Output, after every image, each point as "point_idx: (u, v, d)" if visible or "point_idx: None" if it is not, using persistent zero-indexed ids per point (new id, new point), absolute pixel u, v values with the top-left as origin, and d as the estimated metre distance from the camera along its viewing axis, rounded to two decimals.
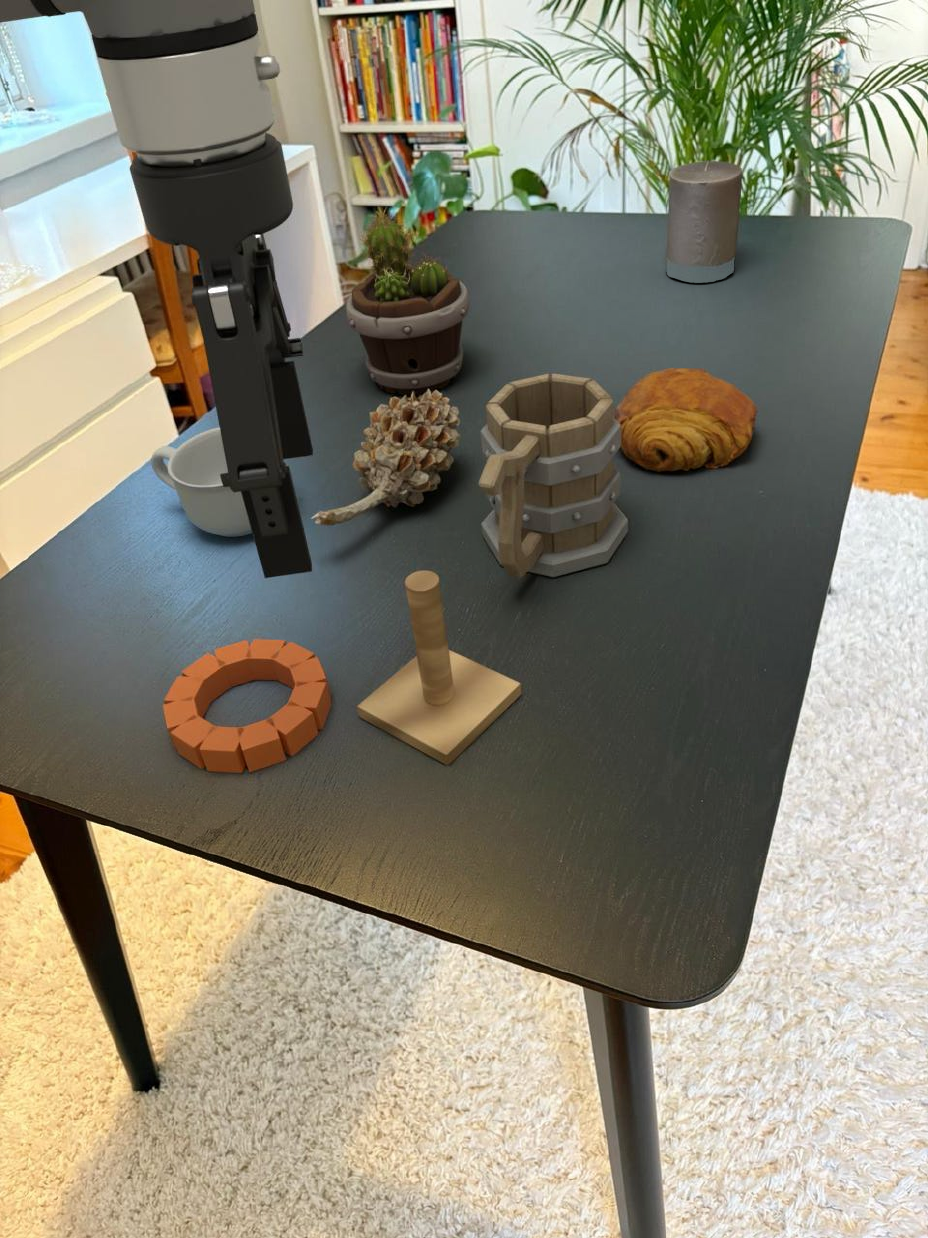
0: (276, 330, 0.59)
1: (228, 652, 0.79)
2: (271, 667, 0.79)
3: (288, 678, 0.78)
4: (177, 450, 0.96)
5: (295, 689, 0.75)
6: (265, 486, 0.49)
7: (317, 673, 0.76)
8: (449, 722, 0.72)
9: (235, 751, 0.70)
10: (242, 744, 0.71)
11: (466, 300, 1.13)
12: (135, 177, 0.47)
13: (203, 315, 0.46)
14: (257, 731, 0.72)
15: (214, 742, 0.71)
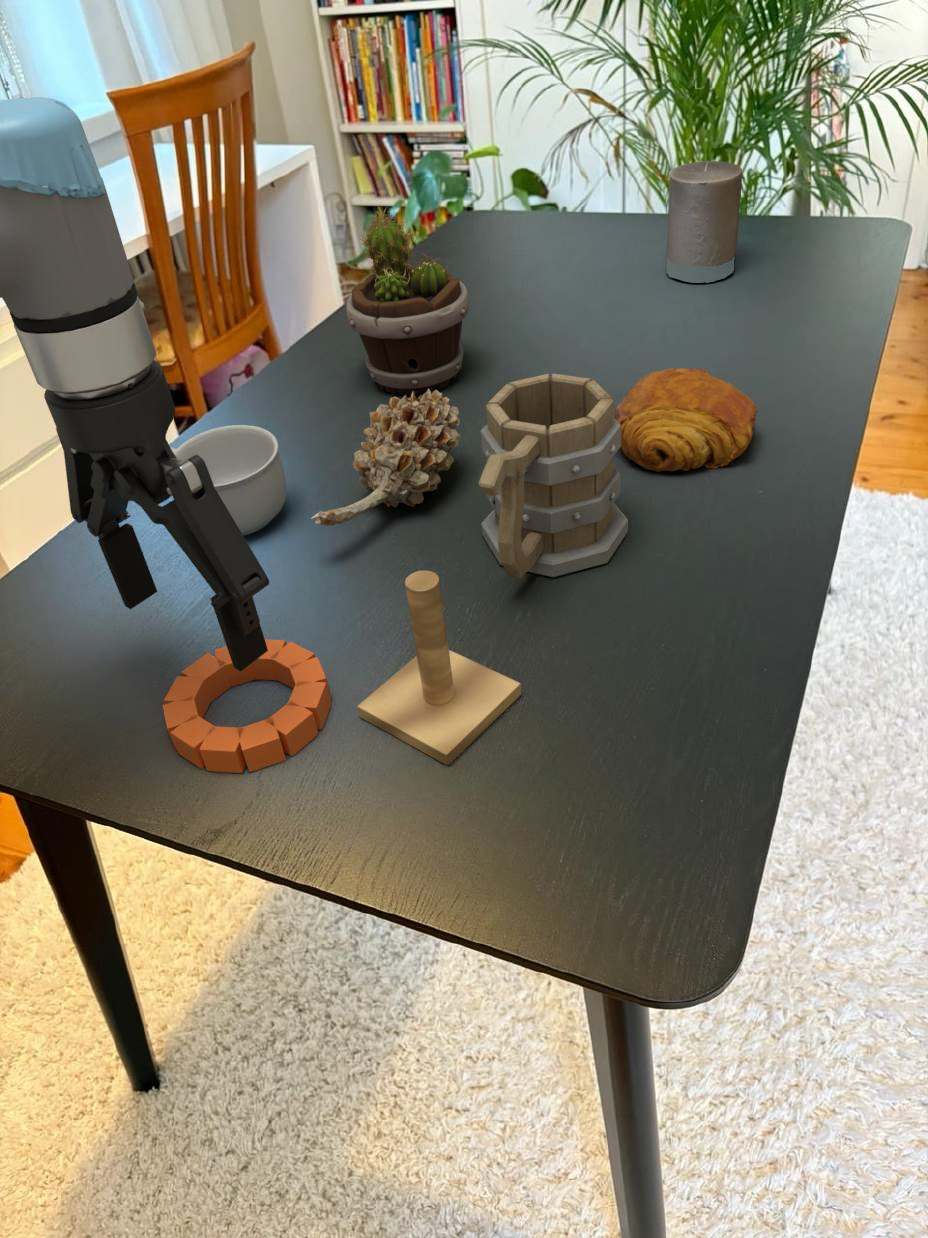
0: (126, 501, 0.73)
1: (228, 652, 0.79)
2: (271, 667, 0.79)
3: (288, 678, 0.78)
4: (177, 450, 0.96)
5: (295, 689, 0.75)
6: (260, 589, 0.66)
7: (317, 673, 0.76)
8: (449, 722, 0.72)
9: (235, 751, 0.70)
10: (242, 744, 0.71)
11: (466, 300, 1.13)
12: (77, 412, 0.60)
13: (182, 488, 0.62)
14: (257, 731, 0.72)
15: (214, 742, 0.71)
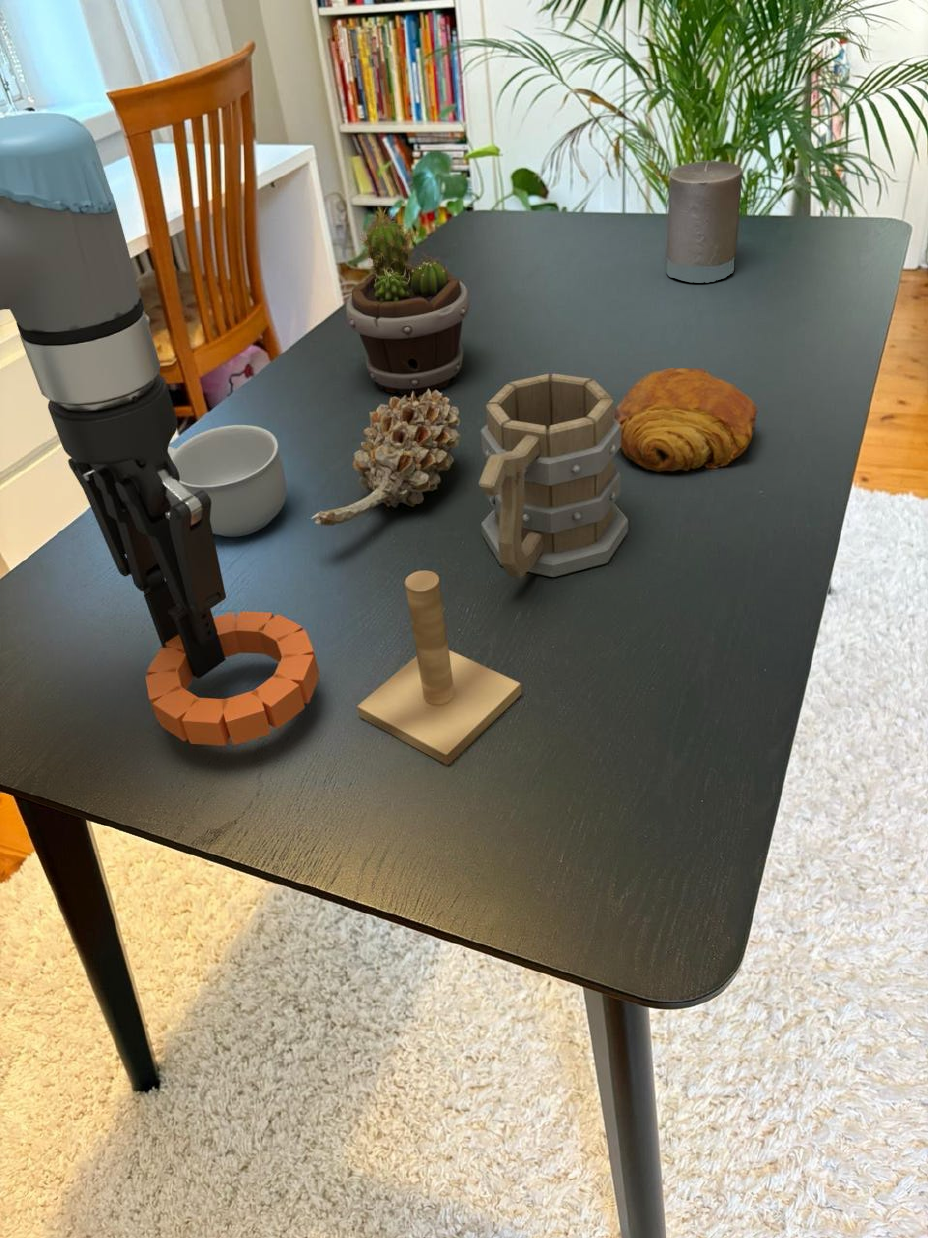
0: None
1: None
2: (258, 640, 0.77)
3: (275, 651, 0.76)
4: (177, 450, 0.96)
5: (281, 661, 0.73)
6: (217, 603, 0.70)
7: (305, 646, 0.74)
8: (449, 722, 0.72)
9: (218, 722, 0.68)
10: (226, 715, 0.69)
11: (466, 300, 1.13)
12: (81, 423, 0.60)
13: (185, 524, 0.64)
14: (242, 703, 0.70)
15: (197, 713, 0.69)
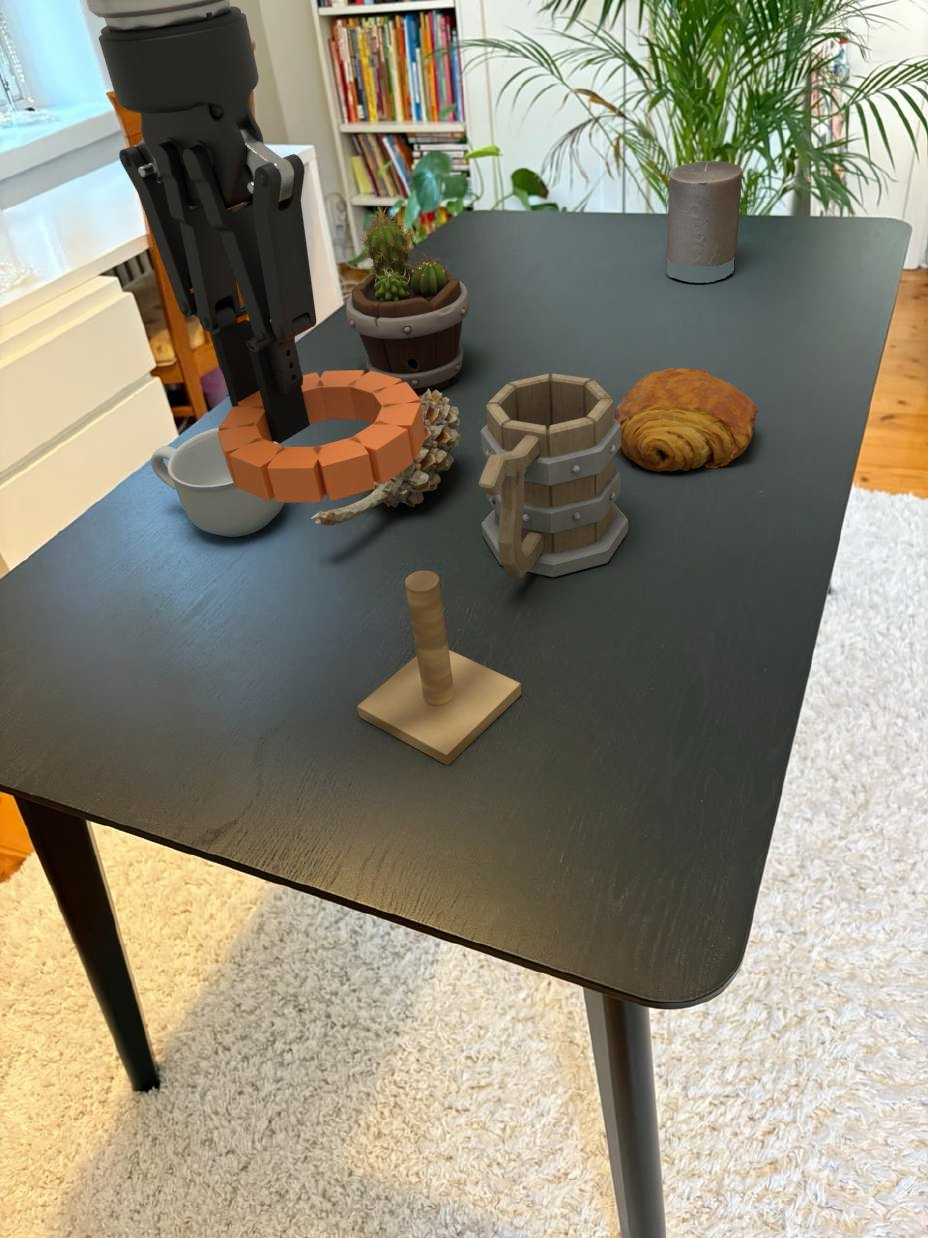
0: (228, 257, 0.59)
1: None
2: (348, 399, 0.63)
3: (370, 410, 0.63)
4: (177, 450, 0.96)
5: (382, 410, 0.60)
6: (307, 328, 0.57)
7: (408, 395, 0.61)
8: (449, 722, 0.72)
9: (313, 467, 0.55)
10: (321, 460, 0.56)
11: (466, 300, 1.13)
12: (143, 43, 0.47)
13: (273, 194, 0.51)
14: (339, 448, 0.57)
15: (286, 460, 0.56)
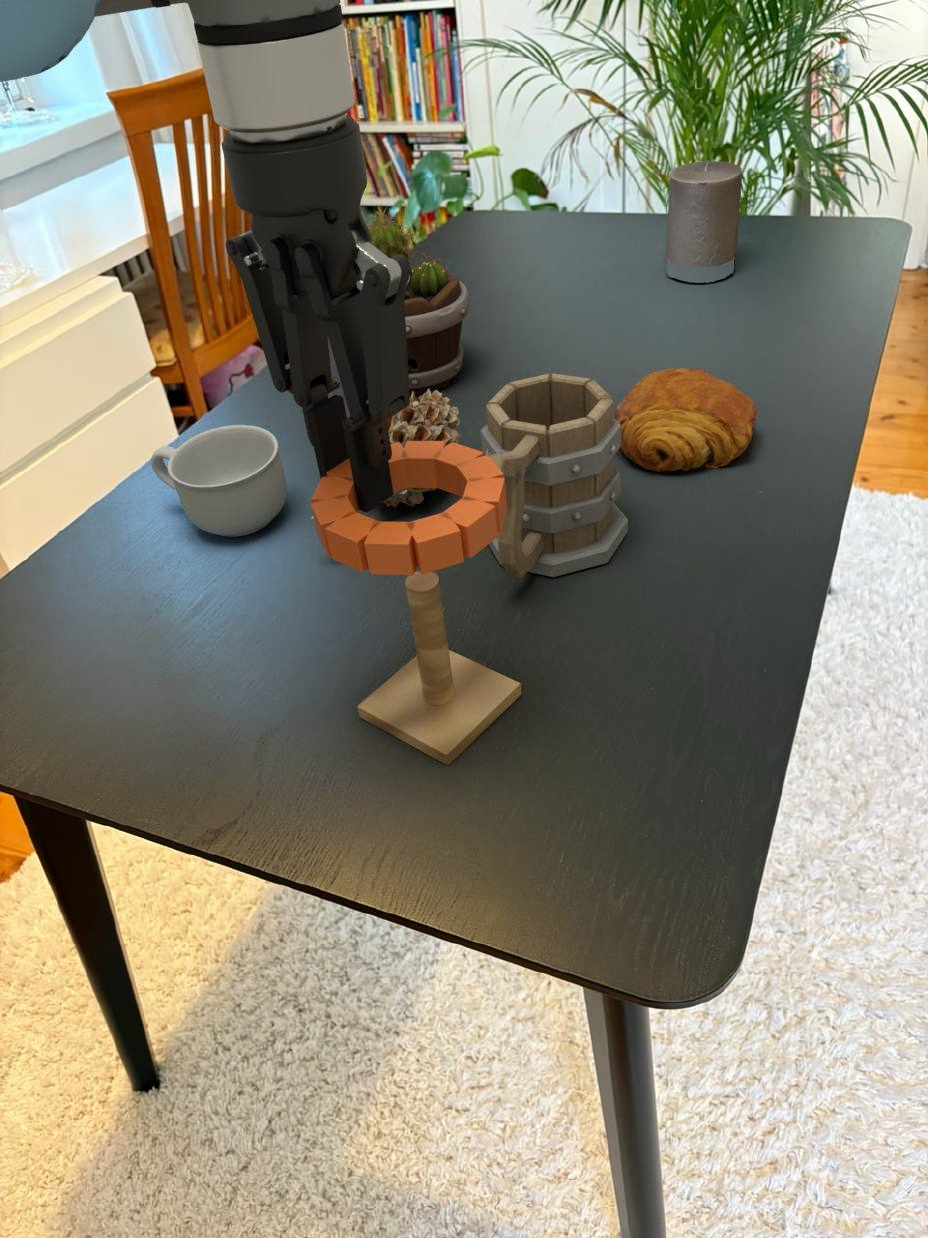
0: (324, 339, 0.62)
1: None
2: (431, 469, 0.66)
3: (452, 481, 0.66)
4: (177, 450, 0.96)
5: (468, 485, 0.63)
6: (401, 409, 0.60)
7: (492, 470, 0.64)
8: (449, 722, 0.72)
9: (408, 543, 0.58)
10: (415, 536, 0.59)
11: (466, 300, 1.13)
12: (268, 156, 0.50)
13: (382, 292, 0.54)
14: (431, 524, 0.60)
15: (381, 536, 0.59)
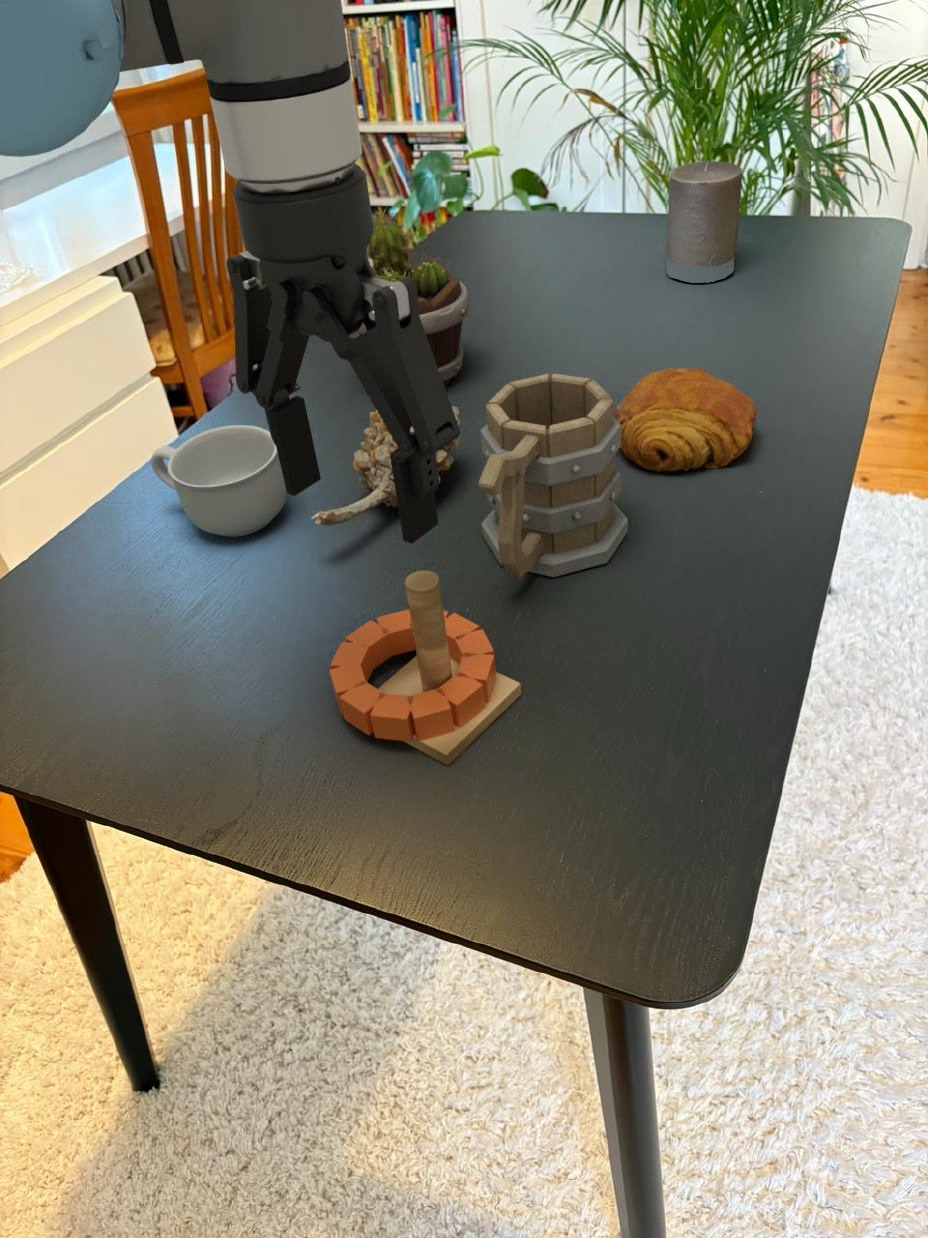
0: (300, 357, 0.64)
1: (391, 620, 0.78)
2: None
3: (452, 649, 0.77)
4: (177, 450, 0.96)
5: (463, 660, 0.74)
6: (451, 440, 0.59)
7: (484, 646, 0.75)
8: None
9: (406, 718, 0.70)
10: (413, 712, 0.70)
11: (466, 300, 1.13)
12: (278, 206, 0.51)
13: (392, 312, 0.54)
14: (428, 700, 0.71)
15: (385, 709, 0.71)
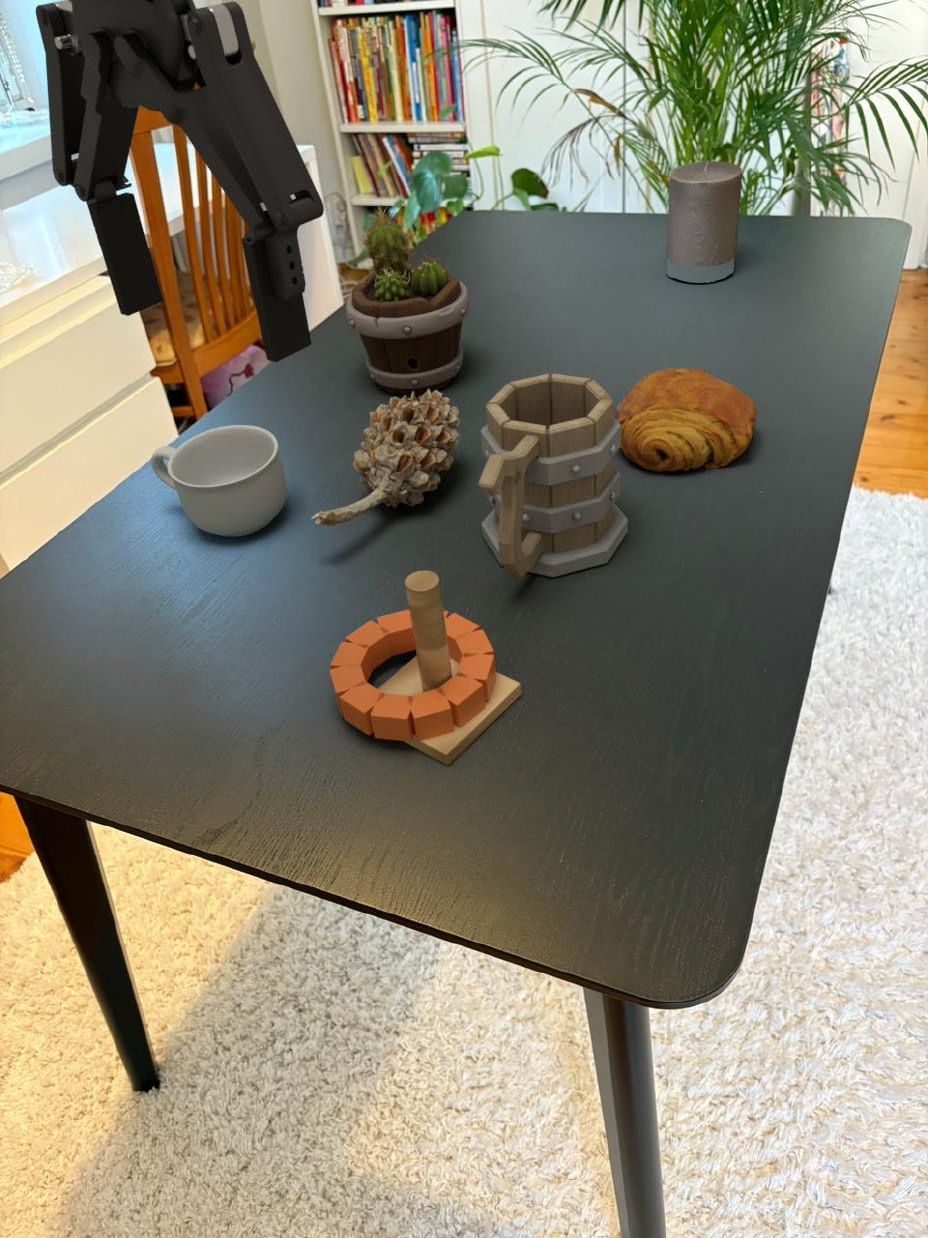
0: (127, 143, 0.55)
1: (391, 620, 0.78)
2: None
3: (452, 649, 0.77)
4: (177, 450, 0.96)
5: (463, 660, 0.74)
6: (312, 217, 0.48)
7: (484, 646, 0.75)
8: None
9: (406, 718, 0.70)
10: (413, 712, 0.70)
11: (466, 300, 1.13)
12: None
13: (212, 38, 0.44)
14: (428, 700, 0.71)
15: (385, 709, 0.71)
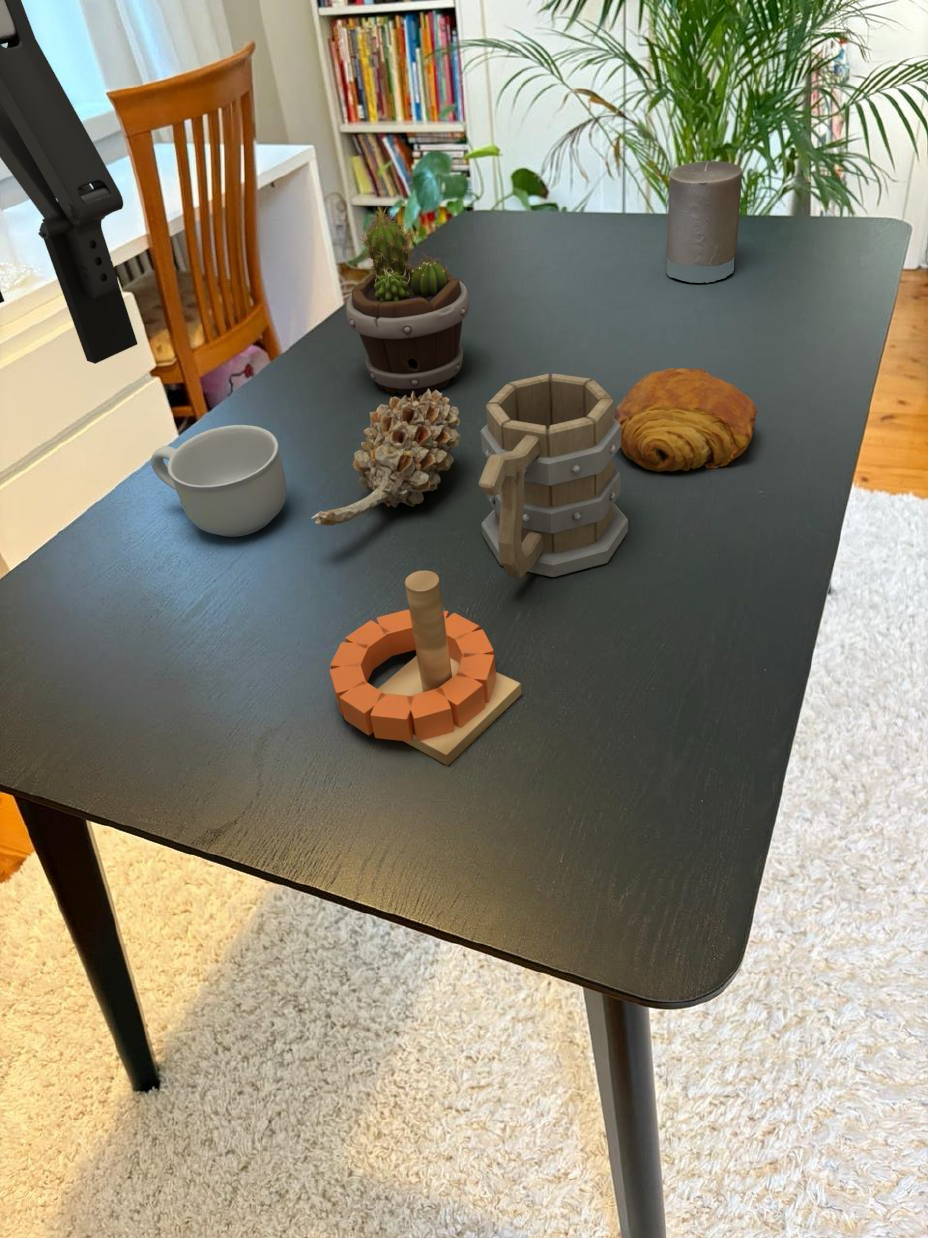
0: None
1: (391, 620, 0.78)
2: None
3: (452, 649, 0.77)
4: (177, 450, 0.96)
5: (463, 660, 0.74)
6: (109, 209, 0.45)
7: (484, 646, 0.75)
8: None
9: (406, 718, 0.70)
10: (413, 712, 0.70)
11: (466, 300, 1.13)
12: None
13: None
14: (428, 700, 0.71)
15: (385, 709, 0.71)
